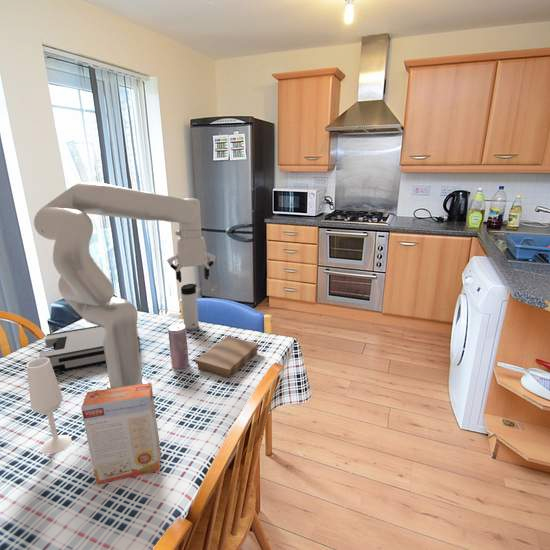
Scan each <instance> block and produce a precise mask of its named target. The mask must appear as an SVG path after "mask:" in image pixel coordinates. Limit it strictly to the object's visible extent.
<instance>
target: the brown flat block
mask: <svg viewBox="0 0 550 550" xmlns="http://www.w3.org/2000/svg"><path fill="white" fill-rule="evenodd" d="M259 345H260V344H259V343H258V342H254V341H249V340H246V339H241V338H238V337H233V336H229V335H227V336H226V337H224V338H223V339H222V340H219V341H218V342H217V343H216V344H215V345H213V346H212V347H210V348H209V349H208V350H207V351H204V352H203V354H201V355H199V356H198V357H197V358H196V359H194V360H195V365H197V370H198V371H202V372H205V373H209V374H211V375H214V376H218V377H222V378H225V379H228V380H230V379H231V378H232V377H234V375H236V373H238V371H240V370H241V369H242V368H243V367H244V366H246V364H247V363H248V362H250V361H251V359H252V358H254V357H255V356H256V355H257V354H258V348H260V347H259Z"/></svg>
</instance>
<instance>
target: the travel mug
mask: <svg viewBox="0 0 550 550" xmlns="http://www.w3.org/2000/svg"><path fill="white" fill-rule="evenodd" d="M180 293H181V294H180V295H181V305H182V306H181V307H182V316H183V317H182V319H183V325H185V328H186V332H187V331H188V332H193V331H196V330H198V329H199V327H200V326H199V325H200V324H199V323H200V322H199V311H198V296H197V283H196V284H195V283H187V284H184V285H182V286H181V287H180Z"/></svg>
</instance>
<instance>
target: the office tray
mask: <svg viewBox="0 0 550 550" xmlns="http://www.w3.org/2000/svg"><path fill="white" fill-rule="evenodd" d="M105 334H106V330H105V328H103V327H100V326H98V325H94V326H89V327H83V328H77V329H71V330H66V331H59V332H58V331H57V332H53V333H52V332H51V333H47V334H46V337H45V339H44V342H45V347H46V349H49V348H53V350H48V351H43V352H40V354H39V357H38V358H43V357H46V358H49V359H50V362H51V365H52V368H53V370H54V371H55V370H58V373H59V372H60V373H64V372H63V371H65V372H70V371H73V370H74V369H75V370H79V369H84V368H90V367H95V366H99V365H104V364H106V358H105V353H104V347H103V341H104V337H105ZM139 335H140V334H139V330H138V328H137V341H138V348H139V354H140V352H141V348H142V347H141V341H140V336H139ZM69 370H70V371H69Z"/></svg>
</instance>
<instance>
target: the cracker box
mask: <svg viewBox="0 0 550 550" xmlns="http://www.w3.org/2000/svg"><path fill="white" fill-rule="evenodd" d="M153 393H154V392H153V385H152V382H148V383H145V384H138V385H131V386H125V387H118V388H111V389H107V388H104V389H98V390H93V391H92V390H91V391H87V392H86V394H85V397H84V400H83V402H82V405H81V407H80V408H81V413H82V419H83V422H84V429H85V434H86V439H87V444H88V449H89V454H90V455H89V456H90V460H91V465H92V469H93V474H94V479H95V483H96V484H102V483H106V482H113V481H116V480H121V479H126V478H131V477H136V476H139V475H140V476H141V475H145V474H150V473H153V472H154V473H155V472H159V471H161V469H160V468H161V455H162V452H161V445H160V436H159V430H158V422H157V416H156V407H155V401H154V400H155V399H154V394H153Z"/></svg>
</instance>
